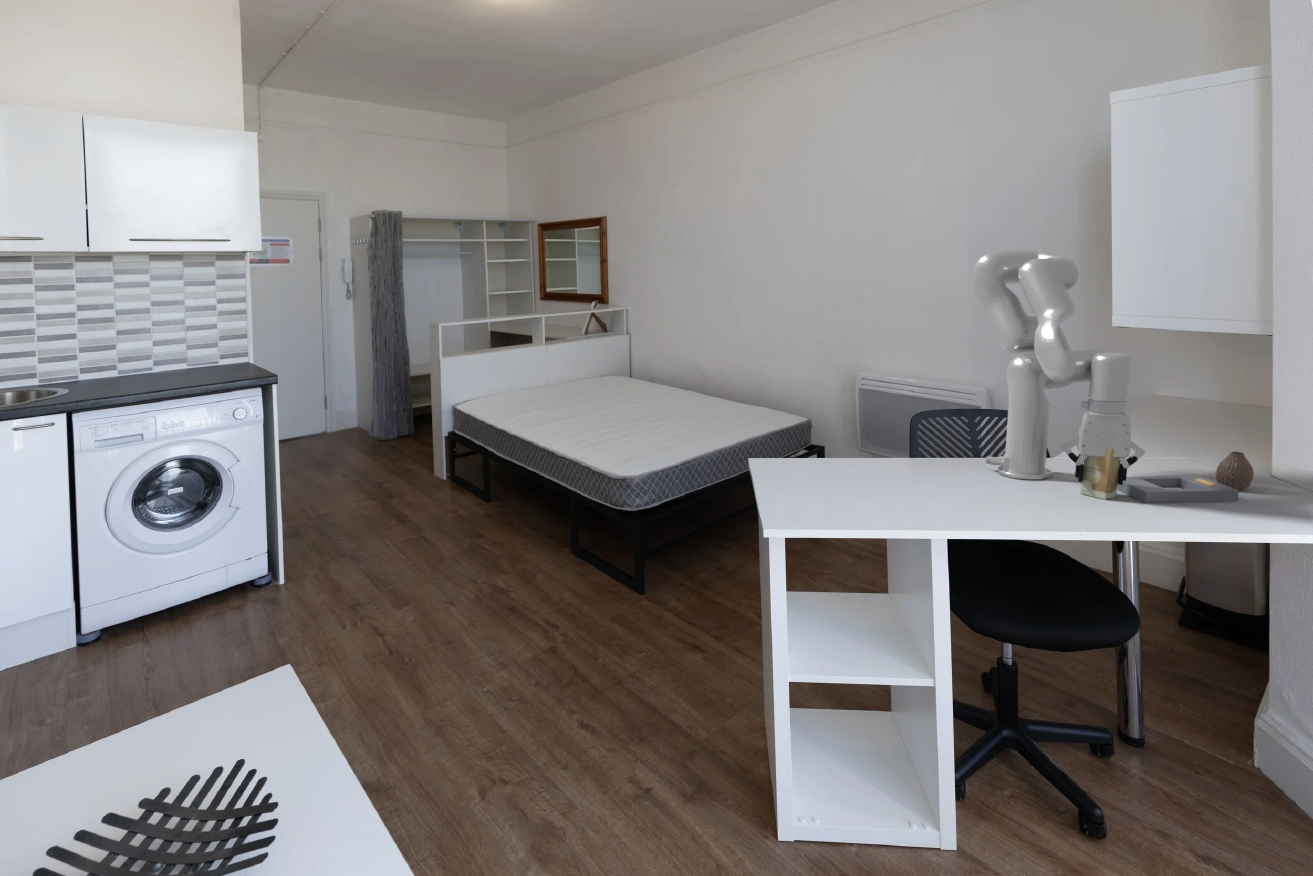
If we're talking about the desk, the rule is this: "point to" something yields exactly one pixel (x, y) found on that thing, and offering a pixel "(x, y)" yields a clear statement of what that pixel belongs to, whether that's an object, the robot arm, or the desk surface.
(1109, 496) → the skincare box
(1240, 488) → the vase
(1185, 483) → the socket dock
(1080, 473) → the robot arm
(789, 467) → the desk surface
